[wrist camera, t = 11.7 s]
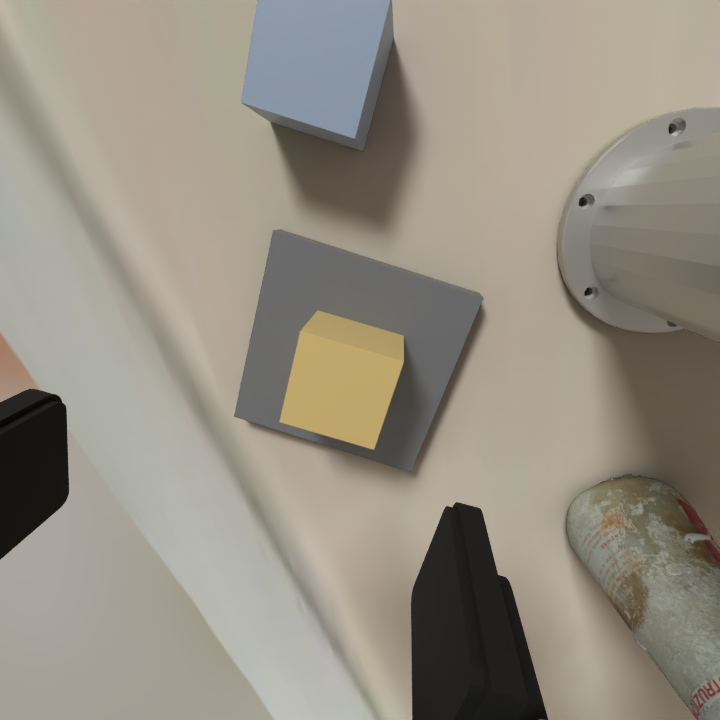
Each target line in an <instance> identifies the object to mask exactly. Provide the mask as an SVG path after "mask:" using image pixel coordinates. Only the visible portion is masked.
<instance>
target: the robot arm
mask: <svg viewBox="0 0 720 720" xmlns="http://www.w3.org/2000/svg"><path fill="white" fill-rule="evenodd" d="M669 126H670V127H671V132H670V133H669V131H668V128H669ZM580 198H583V199H584V204H583V205H582V206H581V207H580V206H579V199H580ZM557 250H558V263H559V266H560V270H561V273H562V277H563V280H564V282H565V284H566V286H567V287H568V289H569V291H570V293H571V295H572V296H573V297H574V298H575V300H576V301H577V302H578V303H579V304H580V305H581V306H582V307H583V308H584V309H585V310H586V311H588V312H589V313H590V314H592V315H593V316H595V317H596V318H597V319H599V320H601V321H603V322H605V323H607V324H609V325H611V326H614V327H617V328H620V329H623V330H626V331H631V332H639V333H647V334H649V333H668V332H673V331H677V330H682V329H688V330H690V331H693V332H695V333H697V334H700V335H702V336H705V337H707V338H709V339H712V340H714V341H717V342H719V343H720V108H719V107H714V108H691V109H686V110H682V111H677V112H672V113H669V114H666V115H663V116H660V117H657V118H655V119H652V120H649V121H647V122H645V123H643V124H641V125H639V126H637V127H635V128H633V129H631V130H629V131H627V132H626V133H625V134H623V135H622V136H621V137H619V138H618V139H616V140H615V141H614V142H612V143H611V144H610V145H608V146H607V147H606V148H605V149H604V150H603V151H602V152H601V153H600V154H599V155H598V156H597V157H596V158H595V159H594V160H593V161H592V162H591V163H590V164H589V166H588V167H587V168H586V170H585V171H584V172H583V174H582V175H581V177H580V178H579V179H578V181H577V182H576V184H575V186H574V188H573V190H572V192H571V194H570V196H569V198H568V200H567V202H566V204H565V207H564V210H563V214H562V217H561V220H560V223H559V231H558V240H557ZM587 288H589V292H588V293H587V294H585V295H584V292H585V290H586V289H587ZM67 447H68V446H67V415H66V406H65V405H64V404H63V403H62V400H61V398H60V397H59V396H57V395H55V394H51V393H47V392H44V391H40V390H36V389H29V390H26V391H23V392H21V393H19V394H17V395H15V396H13V397H11V398H9V399H7V400H4V401H2V402H0V559H1V558H3V557H4V556H5V555H6V554H7V553H8V552H9V551H11V550H12V549H13V548H14V547H15V546H17V545H18V544H19V543H20V542H21V541H22V540H23V539H24V538H26V537H27V536H28V535H29V534H30V533H31V532H33V531H34V530H35V529H36V528H37V527H39V526H40V525H41V524H42V523H43V522H44V521H45V520H47V519H48V518H49V517H50V516H51V515H52V514H54V513H55V512H56V511H57V510H58V509H59V508H60V507H61V506H62V505H63V504H64V503H65V501H66V499H67V497H68V494H69V478H68V449H67ZM411 628H412V716H413V720H548V718H547V714H546V710H545V707H544V703H543V699H542V696H541V692H540V689H539V685H538V681H537V678H536V674H535V671H534V667H533V663H532V660H531V656H530V652H529V649H528V645H527V642H526V638H525V634H524V631H523V627H522V624H521V620H520V616H519V613H518V609H517V605H516V602H515V598H514V595H513V591H512V588H511V585H510V582H509V581H508V579H507V578H506V577H503V576H500V575H498V574H497V570H496V566H495V562H494V558H493V553H492V549H491V545H490V541H489V537H488V533H487V529H486V525H485V521H484V517H483V513H482V511H481V509H480V508H477V507H473V506H469V505H466V504H462V503H458V502H457V503H455V504H454V506H453V508H452V507H448V506H446V508H445V509H444V511H443V514H442V516H441V519H440V521H439V524H438V526H437V529H436V531H435V534H434V536H433V539H432V542H431V544H430V547H429V549H428V552H427V554H426V557H425V559H424V562H423V564H422V567H421V569H420V572H419V574H418V577H417V579H416V582H415V584H414V587H413V592H412V599H411Z"/></svg>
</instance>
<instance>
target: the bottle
mask: <svg viewBox="0 0 720 720" xmlns="http://www.w3.org/2000/svg"><path fill="white" fill-rule="evenodd" d="M567 534H568V538H569V541H570V544H571V546H572V548H573V550H574V551H575V553H576V554H577V556H578V557H579V559H580V560H581V562H582V563H583V564H584V566H585V567H586V569H587V570H588V571H589V573H590V574H591V575H592V577H593V578H594V580H595V581H596V582H597V584H598V585H599V586H600V588H601V589H602V591H603V592H604V593H605V595H606V596H607V598H608V599H609V600H610V602H611V603H612V605H613V606H614V608H615V609H616V610H617V612H618V613H619V615H620V616H621V617H622V619H623V620H624V621H625V623H626V624H627V626H628V627H629V628H630V630H631V631H632V633H633V635H634V638H635V640H636V642H637V643H638V644H639V646H640V647H641V648H642V649H643V650H645V651H646V652H647V653H648V654H649V655H650V657H651V658H652V660H653V661H654V662H655V664H656V665H657V666H658V668H659V669H660V670H661V672H662V673H663V674H664V676H665V677H666V678H667V680H668V681H669V683H670V684H671V686H672V687H673V688H674V690H675V691H676V692H677V694H678V695H679V696H680V698H681V699H682V700H683V702H684V703H685V704H686V706H687V707H688V708H689V710H690V711H691V712H692V714H693V715H694V716H695V718H696V719H697V720H720V547H719V546H718V544H717V543H716V542H715V541H714V539H713V538H712V536H711V535H710V533H709V531H708V529H707V528H706V527H705V525H704V523H703V522H702V521H701V519H700V518H699V516H698V515H697V513H696V511H695V510H694V509H693V508H692V506H691V505H690V503H689V502H688V501H687V500H686V499H685V498H684V497H683V496H682V495H681V494H680V493H679V492H678V491H676V490H675V489H674V488H673V487H671V486H670V485H668V484H666V483H663V482H661V481H658V480H655V479H651V478H646V477H642V476H638V477H636V476H632V474H625V475H623V477H619V478H613V477H611V479H610V480H607V481H604V482H601V483H600V484H598V485H596V486H594V487H592V488H590V489H588V490H586V491H584V492H582V493H581V494H580V495H579V496H577V497H576V498H575V500H574V501H573V502H572V503H571V505H570V508H569V511H568V515H567Z"/></svg>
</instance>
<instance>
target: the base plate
mask: <svg viewBox="0 0 720 720" xmlns="http://www.w3.org/2000/svg"><path fill="white" fill-rule="evenodd" d="M482 300H483V297H482V296H481V295H480V293H477V292H474V291H471V290H467V289H464V288H461V287H458V286H455V285H452V284H449V283H446V282H442V281H439V280H436V279H433V278H430V277H427V276H424V275H421V274H417V273H414V272H411V271H408V270H405V269H402V268H399V267H396V266H392V265H389V264H386V263H383V262H380V261H377V260H374V259H371V258H367V257H364V256H361V255H358V254H355V253H352V252H349V251H346V250H342V249H339V248H336V247H333V246H330V245H327V244H324V243H321V242H317V241H314V240H311V239H308V238H305V237H302V236H299V235H296V234H292V233H289V232H286V231H283V230H273V234H272V239H271V243H270V248H269V253H268V258H267V262H266V267H265V272H264V277H263V281H262V286H261V291H260V296H259V300H258V305H257V310H256V315H255V319H254V324H253V329H252V334H251V339H250V343H249V348H248V353H247V358H246V362H245V367H244V372H243V377H242V381H241V386H240V391H239V396H238V400H237V405H236V410H235V415H234V417H237V418H240V419H243V420H246V421H250V422H253V423H256V424H259V425H262V426H266V427H269V428H272V429H275V430H278V431H282V432H285V433H288V434H291V435H294V436H298V437H301V438H304V439H307V440H310V441H313V442H317V443H320V444H323V445H326V446H329V447H333V448H336V449H339V450H342V451H345V452H349V453H352V454H355V455H358V456H361V457H365V458H368V459H371V460H374V461H377V462H380V463H384V464H387V465H390V466H393V467H396V468H400V469H403V470H406V471H409V472H411V470H412V468H413V465H414V463H415V461H416V458H417V456H418V453H419V451H420V449H421V446H422V444H423V441H424V439H425V437H426V434H427V432H428V430H429V427H430V425H431V422H432V420H433V418H434V415H435V413H436V410H437V408H438V406H439V403H440V401H441V398H442V396H443V394H444V391H445V389H446V386H447V384H448V382H449V379H450V377H451V374H452V372H453V370H454V367H455V365H456V362H457V360H458V358H459V355H460V353H461V350H462V348H463V346H464V343H465V341H466V338H467V336H468V334H469V331H470V329H471V327H472V324H473V322H474V319H475V317H476V315H477V312H478V310H479V307H480V305H481V303H482ZM317 311H322V312H325V313H329V314H332V315H335V316H339V317H342V318H346V319H349V320H352V321H356V322H359V323H363V324H366V325H369V326H373V327H376V328H379V329H383V330H386V331H390V332H393V333H396V334H400V335H403V336H404V363H403V366H402V369H401V372H400V375H399V378H398V381H397V384H396V387H395V390H394V392H393V395H392V398H391V401H390V404H389V407H388V410H387V413H386V416H385V419H384V422H383V425H382V428H381V431H380V434H379V437H378V440H377V443H376V446H375V448H374V450H373V449H370V448H366V447H363V446H359V445H356V444H353V443H349V442H346V441H342V440H339V439H335V438H332V437H329V436H325V435H322V434H318V433H315V432H312V431H308V430H305V429H301V428H298V427H295V426H291V425H288V424H284V423H281V422H279V421H280V417H281V412H282V408H283V404H284V399H285V395H286V391H287V386H288V382H289V378H290V373H291V369H292V365H293V360H294V356H295V352H296V347H297V343H298V339H299V335H300V331H301V330H302V328H303V327H304V326H305V325H306V324H307V322H308V321H309V320H310V319H311V318H312V316H313V315H314V314H315V313H316V312H317Z"/></svg>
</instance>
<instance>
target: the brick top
mask: <svg viewBox="0 0 720 720" xmlns="http://www.w3.org/2000/svg"><path fill="white" fill-rule="evenodd" d="M393 38H394V32H393V12H392V0H257V6H256V12H255V19H254V25H253V31H252V37H251V44H250V50H249V56H248V63H247V69H246V75H245V81H244V88H243V94H242V100H241V103H243V104H244V105H246V106H247V107H249V108H250V109H252V110H253V111H255V112H256V113H258V114H259V115H261V116H262V117H264V118H265V119H267V120H268V121H270V122H272V123H275V124H278V125H282V126H285V127H288V128H291V129H294V130H297V131H301V132H304V133H307V134H310V135H313V136H316V137H319V138H323V139H326V140H329V141H332V142H335V143H338V144H341V145H345V146H348V147H351V148H354V149H357V150H360V151H364V148H365V144H366V140H367V136H368V132H369V129H370V125H371V121H372V117H373V114H374V110H375V106H376V102H377V99H378V95H379V91H380V87H381V84H382V80H383V76H384V72H385V69H386V65H387V61H388V57H389V53H390V50H391V46H392V42H393Z"/></svg>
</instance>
